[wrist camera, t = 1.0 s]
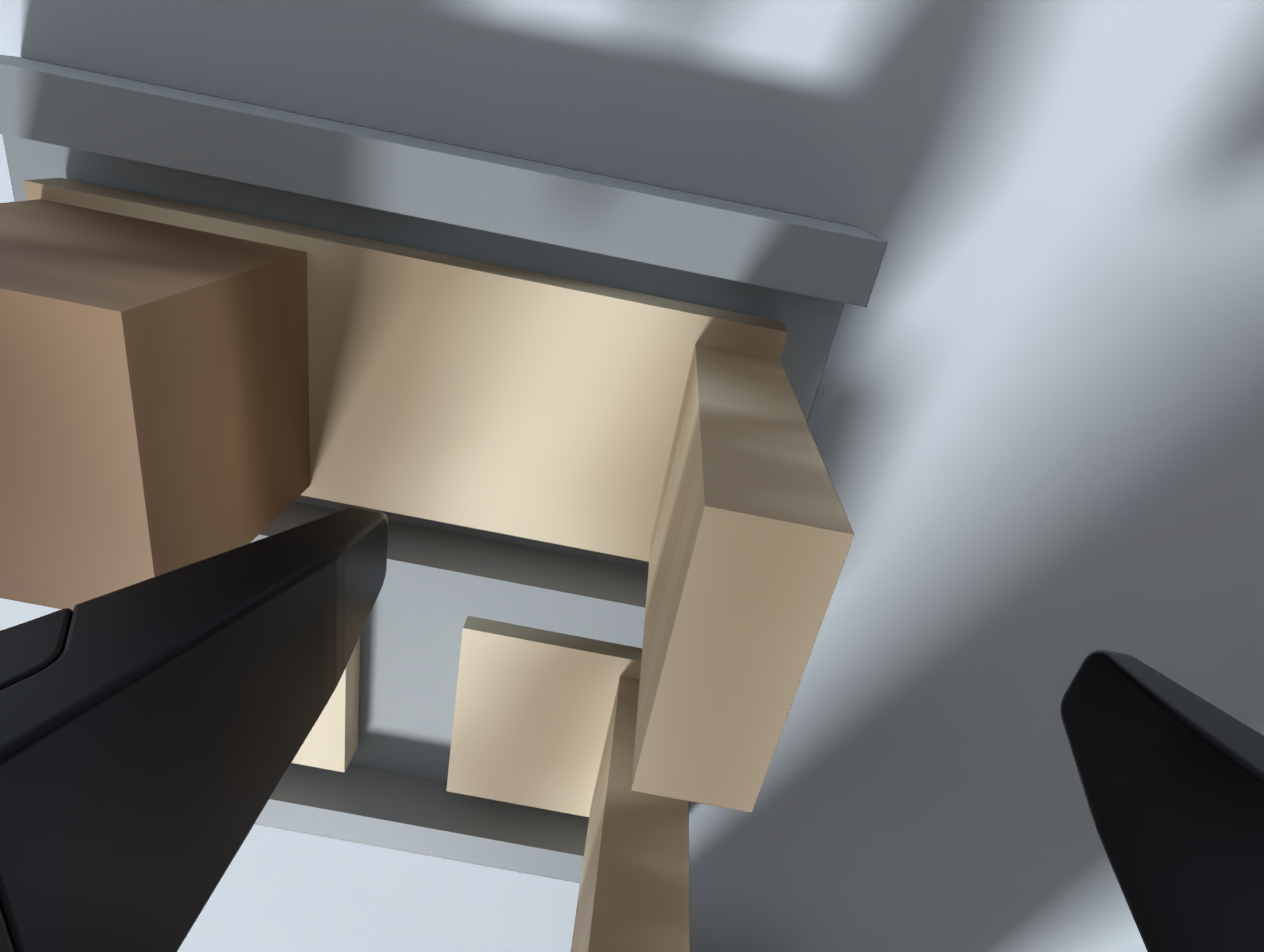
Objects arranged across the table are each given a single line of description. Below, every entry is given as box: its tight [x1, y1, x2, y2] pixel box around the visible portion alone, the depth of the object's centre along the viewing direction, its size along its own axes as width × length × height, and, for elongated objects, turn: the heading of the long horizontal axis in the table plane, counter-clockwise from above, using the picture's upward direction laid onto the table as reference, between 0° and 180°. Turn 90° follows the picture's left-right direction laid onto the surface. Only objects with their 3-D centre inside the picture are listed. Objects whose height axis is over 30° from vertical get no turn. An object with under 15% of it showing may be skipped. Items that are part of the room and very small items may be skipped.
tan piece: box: [23, 178, 854, 813], centre depth 11 cm, size 13×5×7 cm, turn 80°
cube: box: [0, 199, 310, 611], centre depth 11 cm, size 4×4×4 cm
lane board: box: [0, 55, 887, 883], centre depth 15 cm, size 15×16×2 cm
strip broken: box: [292, 616, 690, 952], centre depth 14 cm, size 13×5×7 cm, turn 80°
